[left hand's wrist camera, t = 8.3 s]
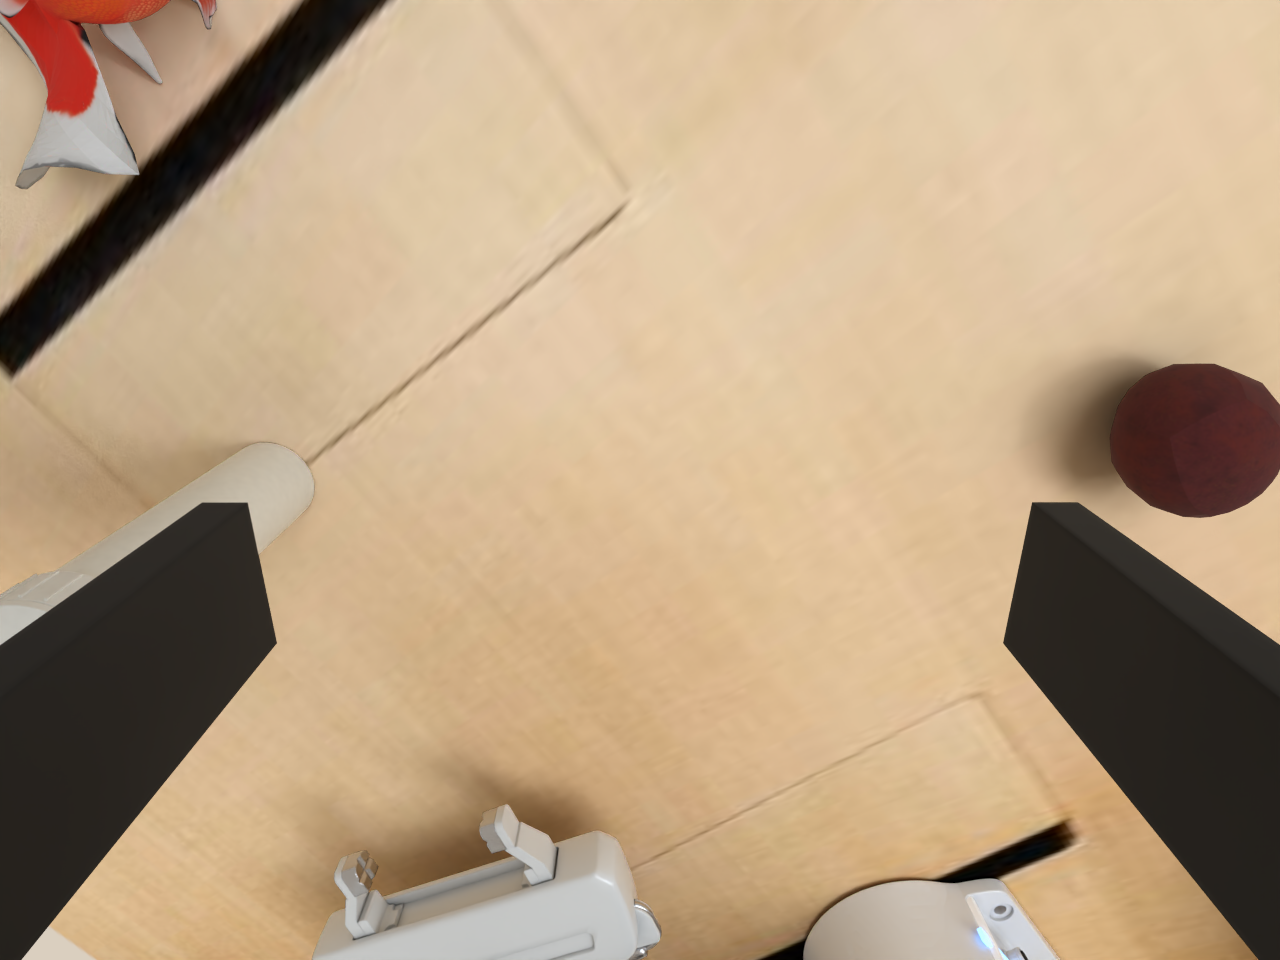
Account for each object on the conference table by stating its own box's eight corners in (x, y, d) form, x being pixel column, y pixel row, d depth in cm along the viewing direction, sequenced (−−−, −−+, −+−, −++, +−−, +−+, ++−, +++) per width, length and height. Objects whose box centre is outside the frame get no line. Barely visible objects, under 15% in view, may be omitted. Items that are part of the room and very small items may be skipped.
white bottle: (283, 535, 43) (70, 741, 27) (213, 482, 42) (-54, 665, 26) (331, 480, 42) (138, 662, 26) (260, 424, 41) (11, 579, 25)
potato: (1112, 507, 42) (1199, 565, 36) (1057, 398, 40) (1139, 439, 33) (1239, 437, 41) (1354, 484, 34) (1190, 320, 38) (1304, 346, 32)
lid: (109, 715, 29) (65, 759, 27) (-19, 633, 28) (-78, 672, 25) (183, 631, 28) (143, 670, 25) (51, 541, 26) (-4, 574, 24)
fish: (342, 64, 30) (55, -9, 22) (188, 252, 39) (-57, 249, 31) (236, -184, 30) (-94, -350, 22) (105, 62, 39) (-162, 10, 31)
